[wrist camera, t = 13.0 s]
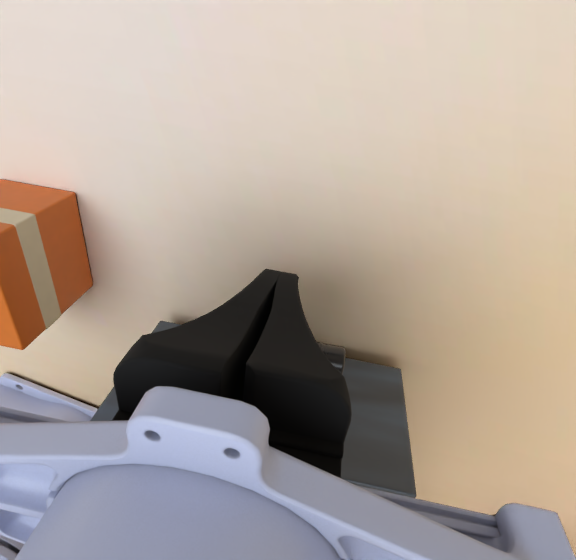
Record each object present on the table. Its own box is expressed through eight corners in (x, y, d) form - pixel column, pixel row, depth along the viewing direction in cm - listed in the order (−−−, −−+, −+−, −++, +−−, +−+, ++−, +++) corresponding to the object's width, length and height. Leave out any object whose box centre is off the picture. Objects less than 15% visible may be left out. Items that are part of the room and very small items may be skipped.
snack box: (-1, 177, 19) (-115, 222, 14) (75, 191, 19) (-16, 241, 14) (28, 272, 22) (-59, 334, 18) (94, 285, 22) (23, 351, 17)
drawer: (154, 254, 19) (67, 347, 13) (426, 306, 18) (456, 429, 12) (171, 458, 29) (125, 562, 23) (348, 498, 28) (345, 617, 22)
